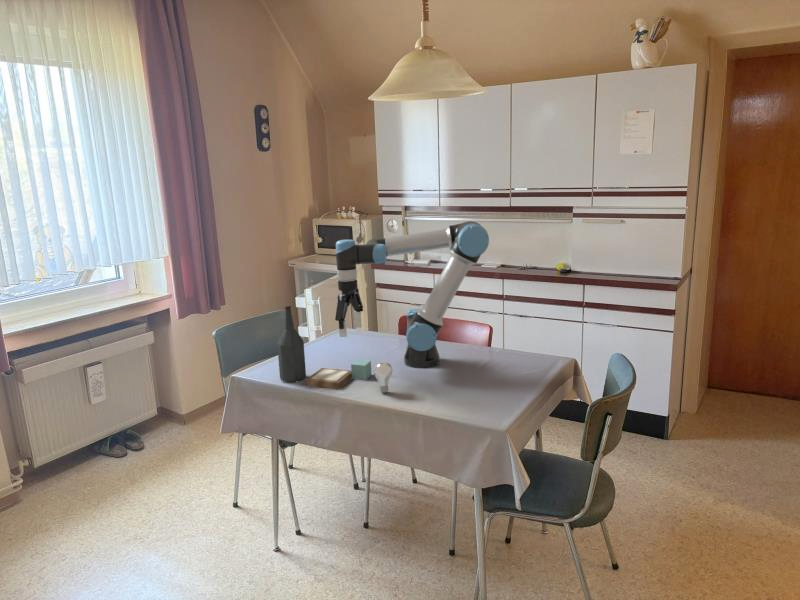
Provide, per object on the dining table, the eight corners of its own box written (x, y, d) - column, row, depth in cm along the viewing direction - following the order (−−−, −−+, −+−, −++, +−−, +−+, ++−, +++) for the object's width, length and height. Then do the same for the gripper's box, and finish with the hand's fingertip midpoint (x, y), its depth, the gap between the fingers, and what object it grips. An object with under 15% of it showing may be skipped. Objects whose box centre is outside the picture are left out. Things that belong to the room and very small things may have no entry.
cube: (371, 374, 246) (370, 360, 245) (365, 380, 240) (365, 365, 239) (357, 373, 248) (357, 359, 247) (351, 378, 242) (351, 364, 241)
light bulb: (378, 397, 222) (377, 366, 219) (371, 391, 228) (370, 360, 225) (396, 394, 224) (395, 363, 222) (389, 388, 231) (387, 357, 228)
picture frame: (353, 376, 244) (353, 370, 244) (338, 389, 231) (338, 382, 231) (322, 373, 249) (322, 367, 248) (306, 385, 236) (305, 379, 235)
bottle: (297, 384, 238) (292, 309, 231) (275, 381, 242) (269, 308, 235) (310, 375, 248) (305, 303, 241) (289, 373, 251) (283, 302, 244)
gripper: (352, 273, 251) (355, 323, 256) (323, 285, 228) (327, 340, 233) (369, 273, 248) (372, 324, 253) (341, 286, 226) (345, 341, 230)
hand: (350, 331), depth 243 cm, fingers open, 13 cm apart
